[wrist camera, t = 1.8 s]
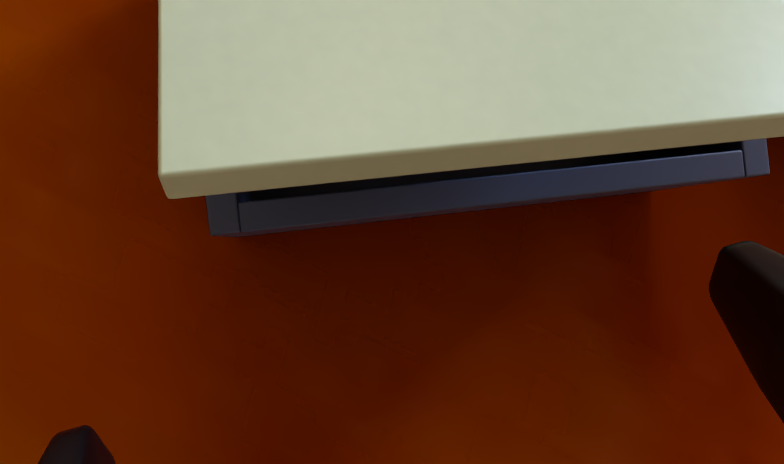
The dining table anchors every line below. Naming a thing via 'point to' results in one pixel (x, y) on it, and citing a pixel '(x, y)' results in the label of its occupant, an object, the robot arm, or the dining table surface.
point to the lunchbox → (481, 188)
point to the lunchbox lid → (451, 85)
